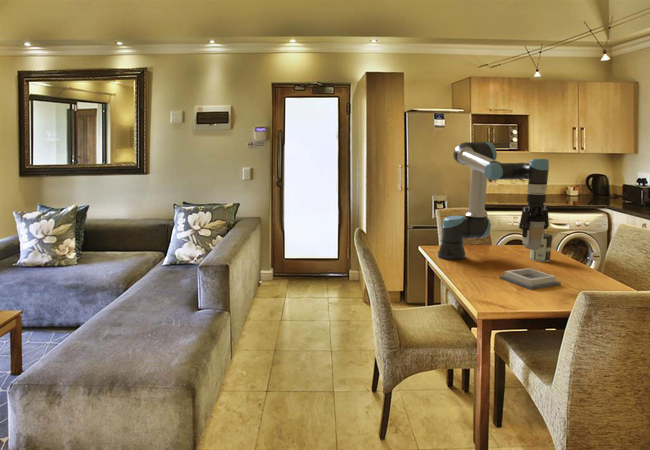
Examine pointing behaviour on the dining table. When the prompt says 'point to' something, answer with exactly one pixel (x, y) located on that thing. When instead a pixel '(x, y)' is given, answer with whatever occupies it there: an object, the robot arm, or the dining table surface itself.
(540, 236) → the coffee cup
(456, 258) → the robot arm
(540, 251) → the coffee can
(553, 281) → the cup dock
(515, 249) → the dining table surface
